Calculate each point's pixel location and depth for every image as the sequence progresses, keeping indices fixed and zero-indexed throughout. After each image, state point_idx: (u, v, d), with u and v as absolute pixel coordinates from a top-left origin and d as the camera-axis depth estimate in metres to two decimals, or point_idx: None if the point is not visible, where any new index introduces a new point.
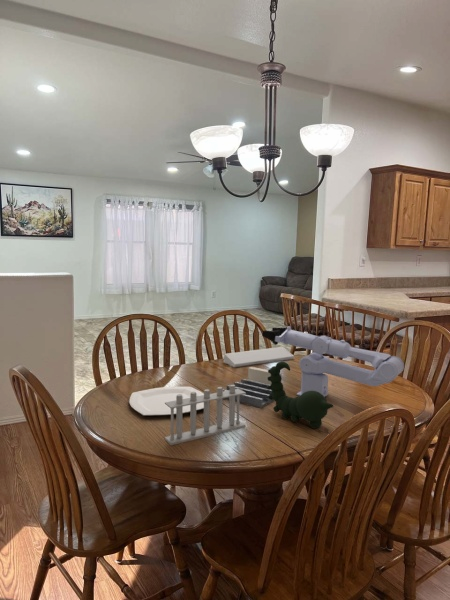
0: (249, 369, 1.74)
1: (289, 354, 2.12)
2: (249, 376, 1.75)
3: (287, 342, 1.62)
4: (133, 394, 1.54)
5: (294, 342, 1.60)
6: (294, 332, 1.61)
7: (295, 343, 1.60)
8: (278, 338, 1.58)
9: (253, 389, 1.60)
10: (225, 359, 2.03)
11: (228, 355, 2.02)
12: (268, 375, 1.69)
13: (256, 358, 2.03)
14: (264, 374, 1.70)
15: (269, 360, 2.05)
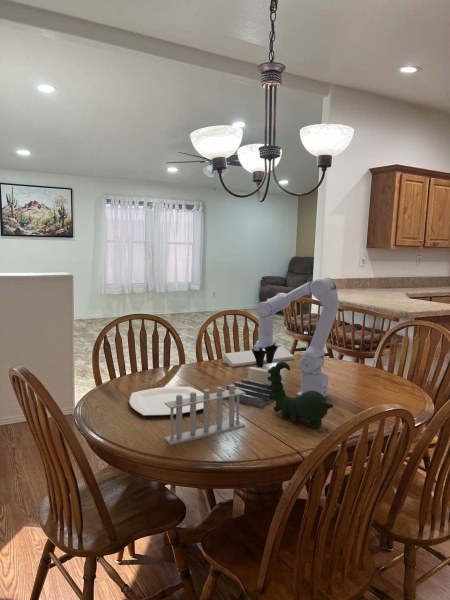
0: (249, 369, 1.74)
1: (289, 354, 2.12)
2: (249, 376, 1.75)
3: (266, 342, 1.67)
4: (133, 394, 1.54)
5: (264, 334, 1.67)
6: None
7: (265, 333, 1.67)
8: (255, 347, 1.65)
9: (253, 389, 1.60)
10: (224, 359, 2.03)
11: (227, 355, 2.03)
12: (268, 375, 1.69)
13: None
14: (264, 374, 1.70)
15: None
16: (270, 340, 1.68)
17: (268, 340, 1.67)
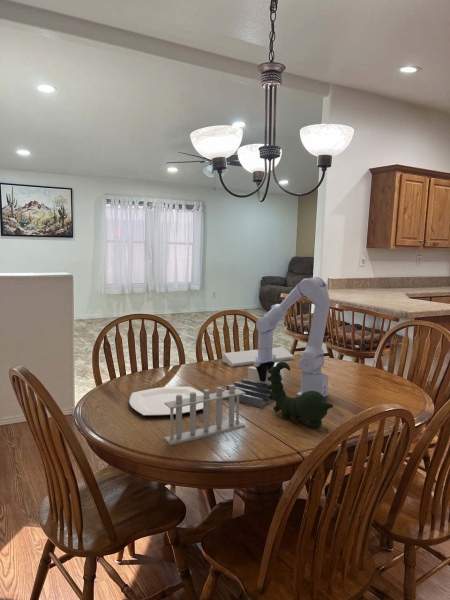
0: (249, 369, 1.74)
1: (288, 354, 2.12)
2: (249, 375, 1.75)
3: (265, 357, 1.68)
4: (133, 394, 1.54)
5: (263, 350, 1.68)
6: (258, 350, 1.71)
7: (264, 349, 1.68)
8: (254, 363, 1.65)
9: (253, 389, 1.60)
10: (224, 358, 2.04)
11: (227, 354, 2.03)
12: (268, 375, 1.69)
13: (255, 358, 2.04)
14: None
15: None
16: (270, 356, 1.69)
17: (268, 356, 1.68)
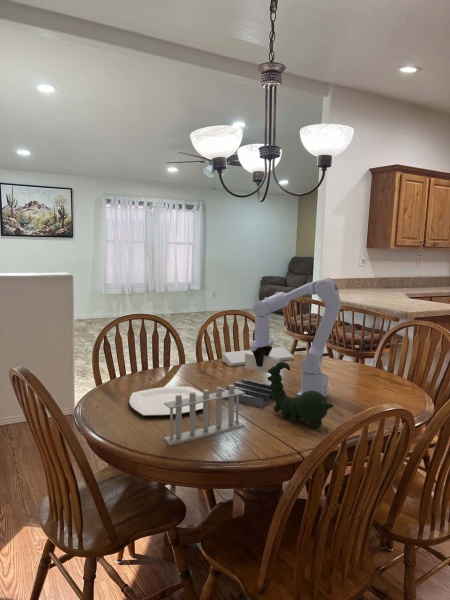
0: (246, 354, 1.70)
1: (288, 355, 2.12)
2: (246, 361, 1.70)
3: (262, 341, 1.63)
4: (133, 394, 1.54)
5: (260, 333, 1.63)
6: (255, 335, 1.66)
7: (261, 333, 1.63)
8: (251, 347, 1.61)
9: (253, 389, 1.60)
10: (223, 358, 2.05)
11: (226, 354, 2.04)
12: (265, 360, 1.65)
13: None
14: None
15: None
16: (267, 340, 1.64)
17: (265, 340, 1.64)
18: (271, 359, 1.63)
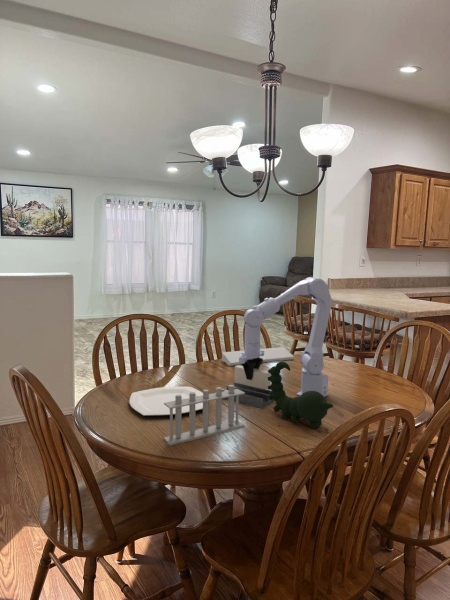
0: (236, 368, 1.60)
1: (288, 355, 2.11)
2: (235, 375, 1.60)
3: (252, 353, 1.54)
4: (133, 394, 1.54)
5: (250, 345, 1.53)
6: None
7: (251, 344, 1.53)
8: (240, 359, 1.51)
9: (253, 389, 1.60)
10: (223, 358, 2.05)
11: (226, 354, 2.05)
12: (256, 374, 1.55)
13: None
14: None
15: (267, 360, 2.05)
16: (257, 351, 1.54)
17: (255, 351, 1.54)
18: (262, 373, 1.53)
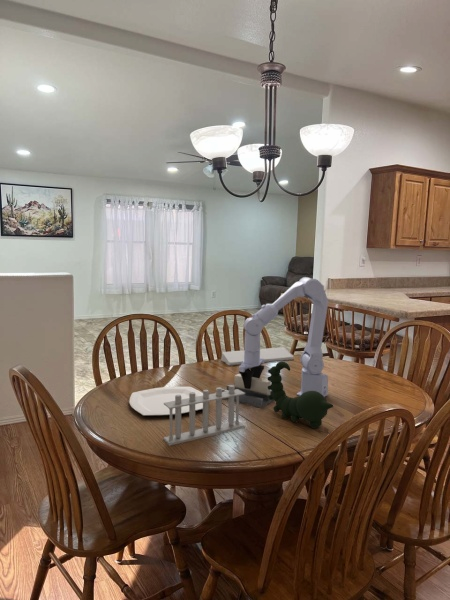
0: (236, 376, 1.60)
1: (288, 355, 2.11)
2: (235, 384, 1.60)
3: (252, 362, 1.54)
4: (133, 394, 1.54)
5: (250, 353, 1.54)
6: (244, 354, 1.57)
7: (251, 352, 1.54)
8: (240, 367, 1.51)
9: None
10: (222, 357, 2.06)
11: (225, 353, 2.05)
12: (256, 383, 1.55)
13: None
14: (252, 383, 1.56)
15: (266, 360, 2.06)
16: (257, 360, 1.55)
17: (255, 360, 1.54)
18: (262, 382, 1.54)
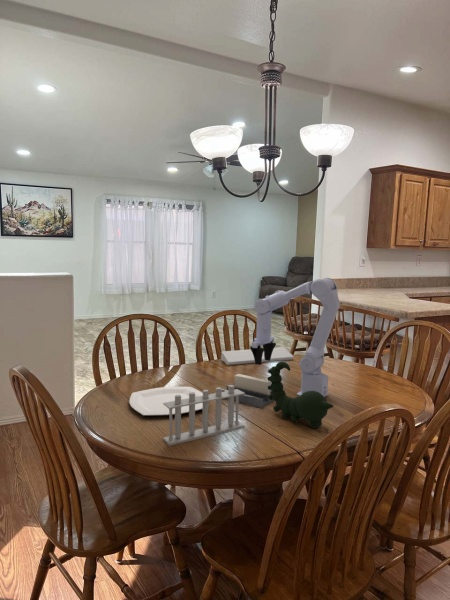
0: (236, 376, 1.60)
1: (288, 355, 2.11)
2: (235, 384, 1.60)
3: (264, 339, 1.67)
4: (133, 394, 1.54)
5: (262, 331, 1.66)
6: (256, 332, 1.70)
7: (263, 330, 1.66)
8: (253, 344, 1.64)
9: None
10: (222, 357, 2.07)
11: (225, 353, 2.06)
12: (256, 383, 1.55)
13: (252, 357, 2.05)
14: (252, 383, 1.56)
15: (266, 360, 2.06)
16: (268, 337, 1.67)
17: (266, 337, 1.67)
18: (262, 382, 1.54)
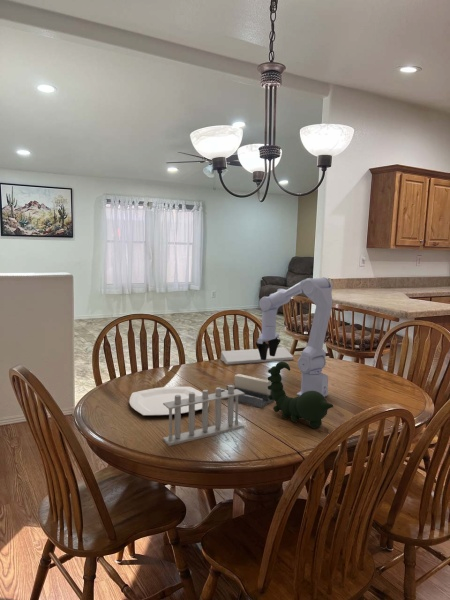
0: (236, 376, 1.60)
1: (288, 355, 2.11)
2: (235, 384, 1.60)
3: (269, 335, 1.73)
4: (133, 394, 1.54)
5: (267, 327, 1.73)
6: None
7: (268, 327, 1.73)
8: (258, 340, 1.71)
9: None
10: (221, 356, 2.08)
11: (224, 353, 2.07)
12: (256, 383, 1.55)
13: (252, 357, 2.05)
14: (252, 383, 1.56)
15: (265, 360, 2.06)
16: (273, 333, 1.74)
17: (271, 333, 1.73)
18: (262, 382, 1.54)
